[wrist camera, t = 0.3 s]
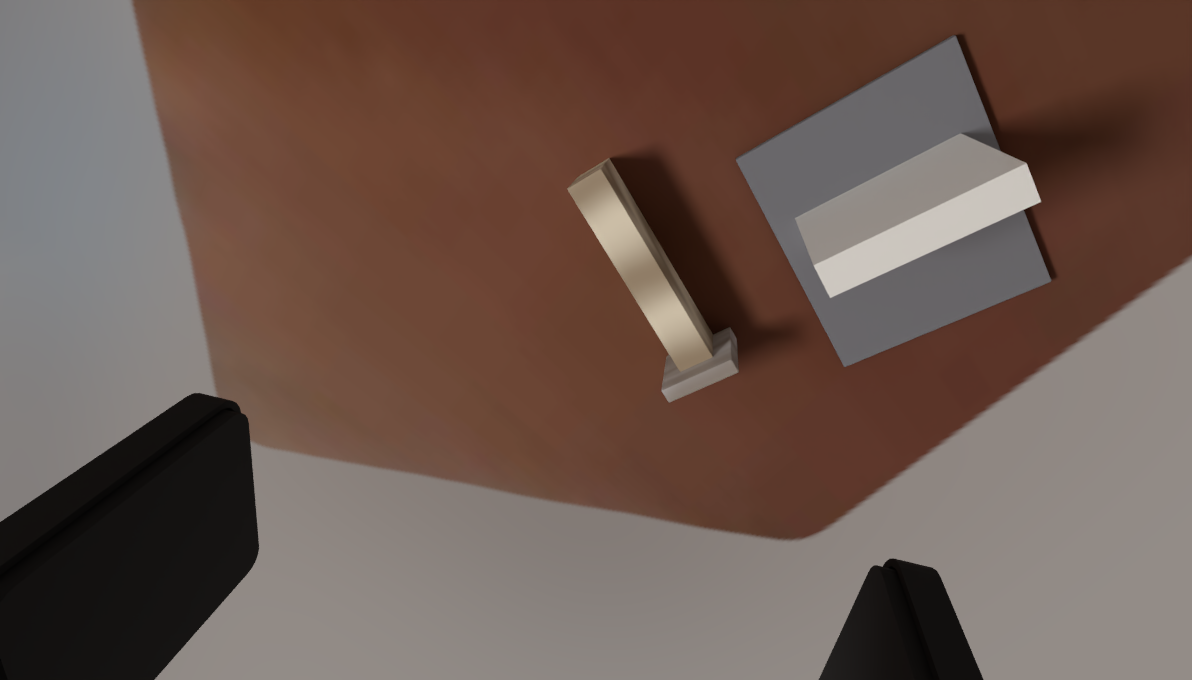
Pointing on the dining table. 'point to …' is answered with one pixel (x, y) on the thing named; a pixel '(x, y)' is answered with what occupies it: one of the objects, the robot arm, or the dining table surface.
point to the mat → (865, 150)
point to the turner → (654, 284)
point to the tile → (914, 211)
